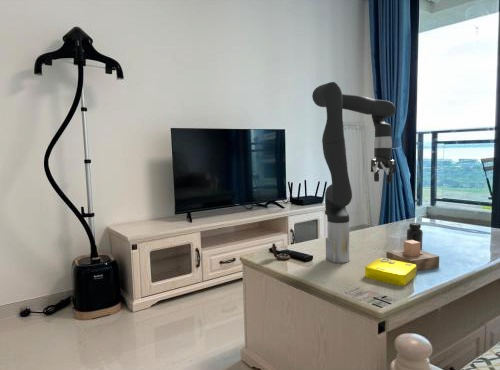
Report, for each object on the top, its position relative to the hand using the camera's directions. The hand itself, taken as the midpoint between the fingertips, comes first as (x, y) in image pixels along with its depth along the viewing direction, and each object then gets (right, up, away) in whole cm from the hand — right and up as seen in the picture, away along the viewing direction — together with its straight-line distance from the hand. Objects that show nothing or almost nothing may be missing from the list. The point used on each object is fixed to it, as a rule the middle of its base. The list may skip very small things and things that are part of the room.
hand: (382, 182), depth 163 cm
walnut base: (+6, -34, -17) cm, 38 cm away
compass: (-47, -35, -3) cm, 58 cm away
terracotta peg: (+6, -33, -17) cm, 37 cm away
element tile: (-8, -36, -29) cm, 47 cm away
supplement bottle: (+17, -32, +4) cm, 36 cm away
